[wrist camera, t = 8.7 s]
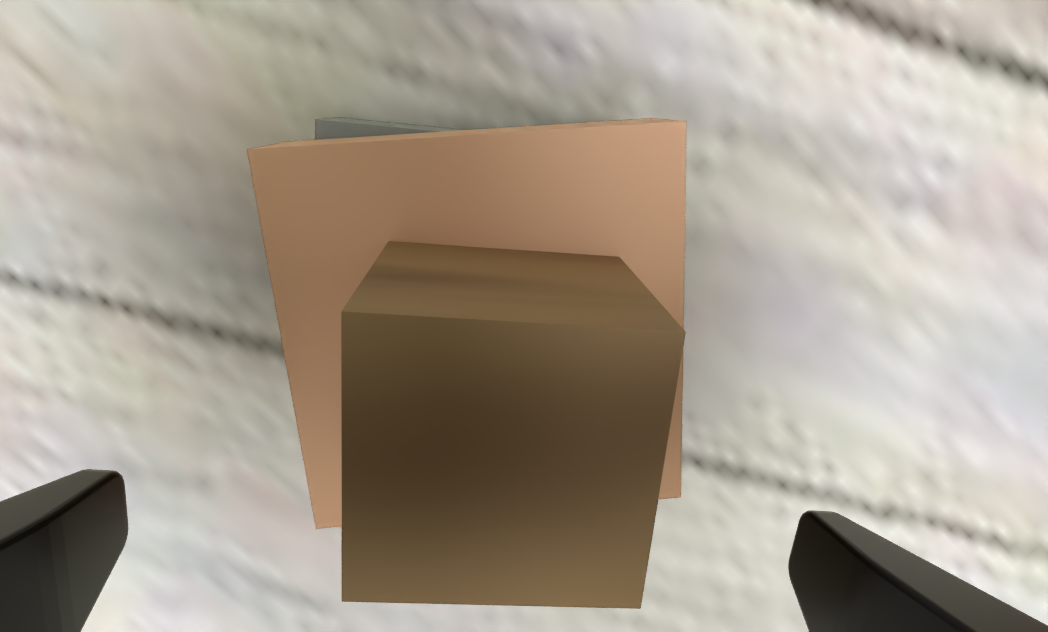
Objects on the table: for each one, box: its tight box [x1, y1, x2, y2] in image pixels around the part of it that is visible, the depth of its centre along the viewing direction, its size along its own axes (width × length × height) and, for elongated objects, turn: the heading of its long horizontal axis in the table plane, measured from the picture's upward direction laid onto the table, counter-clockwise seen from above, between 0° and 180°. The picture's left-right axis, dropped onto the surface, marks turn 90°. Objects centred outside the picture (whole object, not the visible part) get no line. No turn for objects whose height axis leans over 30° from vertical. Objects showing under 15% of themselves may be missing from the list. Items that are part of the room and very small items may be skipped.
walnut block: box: [341, 241, 685, 609], centre depth 13 cm, size 5×5×5 cm
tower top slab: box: [247, 118, 686, 529], centre depth 16 cm, size 9×9×3 cm
